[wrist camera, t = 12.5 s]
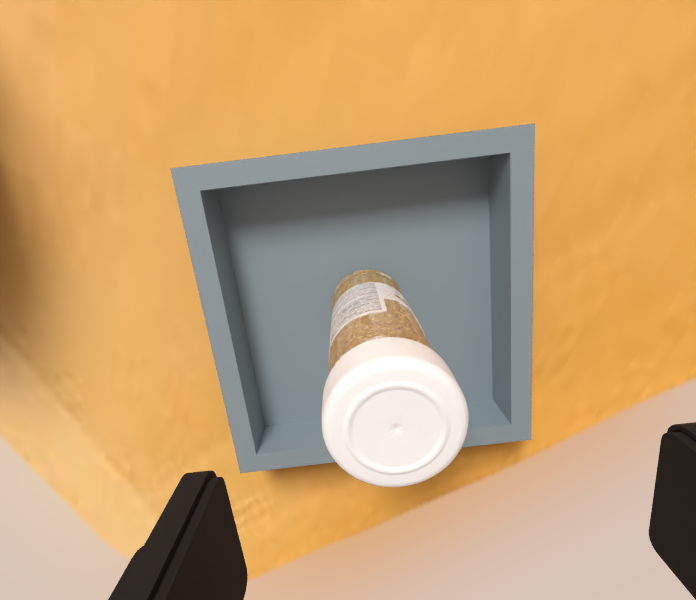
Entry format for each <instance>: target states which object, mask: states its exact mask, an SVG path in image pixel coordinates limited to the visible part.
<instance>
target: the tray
mask: <svg viewBox="0 0 696 600" xmlns="http://www.w3.org/2000/svg"><path fill="white" fill-rule="evenodd" d="M534 144H535V124H527V125H519V126H510V127H502V128H494V129H486V130H478V131H470V132H462V133H454V134H446V135H438V136H430V137H421V138H413V139H405V140H397V141H389V142H381V143H373V144H365V145H357V146H349V147H341V148H332V149H324V150H316V151H308V152H300V153H292V154H284V155H276V156H268V157H260V158H252V159H243V160H235V161H227V162H219V163H211V164H203V165H195V166H187V167H179V168H171V173H172V177H173V182H174V186H175V190H176V195H177V199H178V203H179V208H180V212H181V216H182V221H183V225H184V230H185V234H186V238H187V243H188V247H189V251H190V256H191V260H192V264H193V269H194V273H195V277H196V282H197V286H198V290H199V295H200V299H201V304H202V308H203V312H204V317H205V321H206V325H207V330H208V334H209V338H210V343H211V347H212V351H213V356H214V360H215V364H216V369H217V373H218V378H219V382H220V386H221V391H222V395H223V399H224V404H225V408H226V412H227V417H228V421H229V425H230V430H231V434H232V438H233V443H234V447H235V452H236V456H237V460H238V465H239V469H240V473H246V472H255V471H264V470H272V469H281V468H290V467H298V466H307V465H316V464H324V463H333V462H336V461H335V460H334V459H333V457H332V456H331V454H330V453H329V451H328V449H327V447H326V444H325V441H324V438H323V433H322V400H323V391H324V386H325V383H326V380H327V378H328V375H329V343H330V329H331V319H332V297H333V294H334V292H335V288H336V287H337V285H338V284H339V283H340V282H341V280H343V279H344V278H345V277H346V276H348V275H350V274H352V273H353V272H355V271H359V270H368V269H371V270H378V271H381V272H383V273H385V274H388V275H389V276H390V277H392V278H393V279H394V280H395V281H396V283H397V284H398V285H399V287H400V289H401V291H402V293H403V296H404V298H405V299H406V301H407V302H408V304H409V306H410V308H411V310H412V311H413V313H414V315H415V317H416V318H417V320H418V322H419V324H420V326H421V328H422V329H423V332H424V334H425V337H426V339H427V341H428V343H429V345H430V347H431V348H432V350H433V351H435V352H436V353H437V354H438V355H439V356H440V357H441V358H442V359H443V360H444V362H445V363H446V364H447V366H448V367H449V369H450V370H451V372H452V374H453V375H454V377H455V379H456V381H457V382H458V384H459V386H460V388H461V390H462V392H463V394H464V397H465V400H466V403H467V406H468V415H469V422H468V430H467V435H466V438H465V441H464V444H463V446H462V448H463V447H472V446H480V445H489V444H498V443H506V442H515V441H524V440H531V397H532V313H533V228H534Z"/></svg>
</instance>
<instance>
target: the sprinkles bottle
mask: <svg viewBox="0 0 696 600" xmlns="http://www.w3.org/2000/svg"><path fill="white" fill-rule="evenodd" d="M468 422H469V415H468V406H467V403H466V400H465V397H464V394H463V392H462V390H461V388H460V386H459V384H458V382H457V381H456V379H455V377H454V375H453V374H452V372H451V370H450V369H449V367H448V366H447V364H446V363H445V362H444V360H443V359H442V358H441V357H440V356H439V355H438V354H437V353H436V352H435V351H433V350H432V348H431V347H430V345H429V343H428V341H427V339H426V337H425V334H424V332H423V329H422V328H421V326H420V324H419V322H418V320H417V318H416V317H415V315H414V313H413V311H412V310H411V308H410V306H409V304H408V302H407V301H406V299H405V298H404V296H403V293H402V291H401V289H400V287H399V285H398V284H397V283H396V281H395V280H394V279H393V278H392V277H390V276H389V275H388V274H385V273H383V272H381V271H378V270H371V269H368V270H359V271H355V272H353V273H352V274H350V275H348V276H346V277H345V278H344V279H343V280H341V282H340V283H339V284H338V285H337V287H336V288H335V292H334V294H333V297H332V319H331V329H330V343H329V375H328V378H327V380H326V383H325V386H324V391H323V400H322V433H323V438H324V441H325V444H326V447H327V449H328V451H329V453H330V454H331V456H332V457H333V459H334V460H335V461H336V463H337V464H338V465H339V466H340V467H341V468H342V469H343V470H345V471H346V472H347V473H348V474H350V475H351V476H353V477H355V478H357V479H359V480H361V481H363V482H366V483H369V484H372V485H377V486H383V487H402V486H409V485H413V484H417V483H420V482H422V481H425V480H427V479H429V478H431V477H433V476H435V475H436V474H438V473H439V472H441V471H442V470H443V469H444V468H446V467H447V466H448V465H449V464H450V463H451V462H452V461H453V460H454V458H455V457H456V456H457V454H458V453H459V451H460V449H461V448H462V446H463V444H464V441H465V438H466V435H467V430H468Z"/></svg>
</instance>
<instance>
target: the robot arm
mask: <svg viewBox="0 0 696 600" xmlns="http://www.w3.org/2000/svg"><path fill="white" fill-rule="evenodd" d="M649 537H650V541H651V543H652V545H653V547H654V549H655V550H656V552H657V553H658V555H659V556H660V557H661V558H662V559H663V561H664V562H665V563H666V564H667V565H668V567H669V568H670V569H671V570H672V571H673V573H674V574H675V575H676V576H677V577H678V579H679V580H680V581H681V582H682V584H683V585H684V586H685V587H686V588H687V590H688V591H689V592H690V593H691V594H692V596H693V597H694V598H695V599H696V423H685V424H676V425H672V426H671V427H669V428H668V431H667V433H665V434H664V435H663V436H662V439H661V445H660V453H659V461H658V467H657V475H656V482H655V490H654V497H653V504H652V512H651V519H650V527H649ZM246 586H247V568H246V564H245V560H244V556H243V552H242V548H241V544H240V540H239V536H238V532H237V528H236V524H235V521H234V517H233V513H232V509H231V505H230V501H229V497H228V493H227V489H226V485H225V482H224V479H223V478H222V477H216V474H215V473H214V471H203V472H193V473H186V474H185V475H184V476H183V477H182V478H181V480H180V482H179V484H178V486H177V487H176V489H175V491H174V493H173V495H172V496H171V498H170V500H169V502H168V504H167V505H166V507H165V509H164V511H163V512H162V514H161V516H160V518H159V520H158V521H157V523H156V525H155V527H154V529H153V530H152V532H151V534H150V536H149V538H148V539H147V541H146V543H145V545H144V546H143V547H141V548H140V549H139V550H138V551H137V552H136V553H135V555H134V556H133V558H132V559H131V561H130V563H129V564H128V566H127V568H126V570H125V571H124V573H123V575H122V577H121V579H120V580H119V582H118V584H117V585H116V587H115V589H114V591H113V592H112V594H111V596H110V598H109V599H108V600H243V599H244V595H245V591H246Z"/></svg>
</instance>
